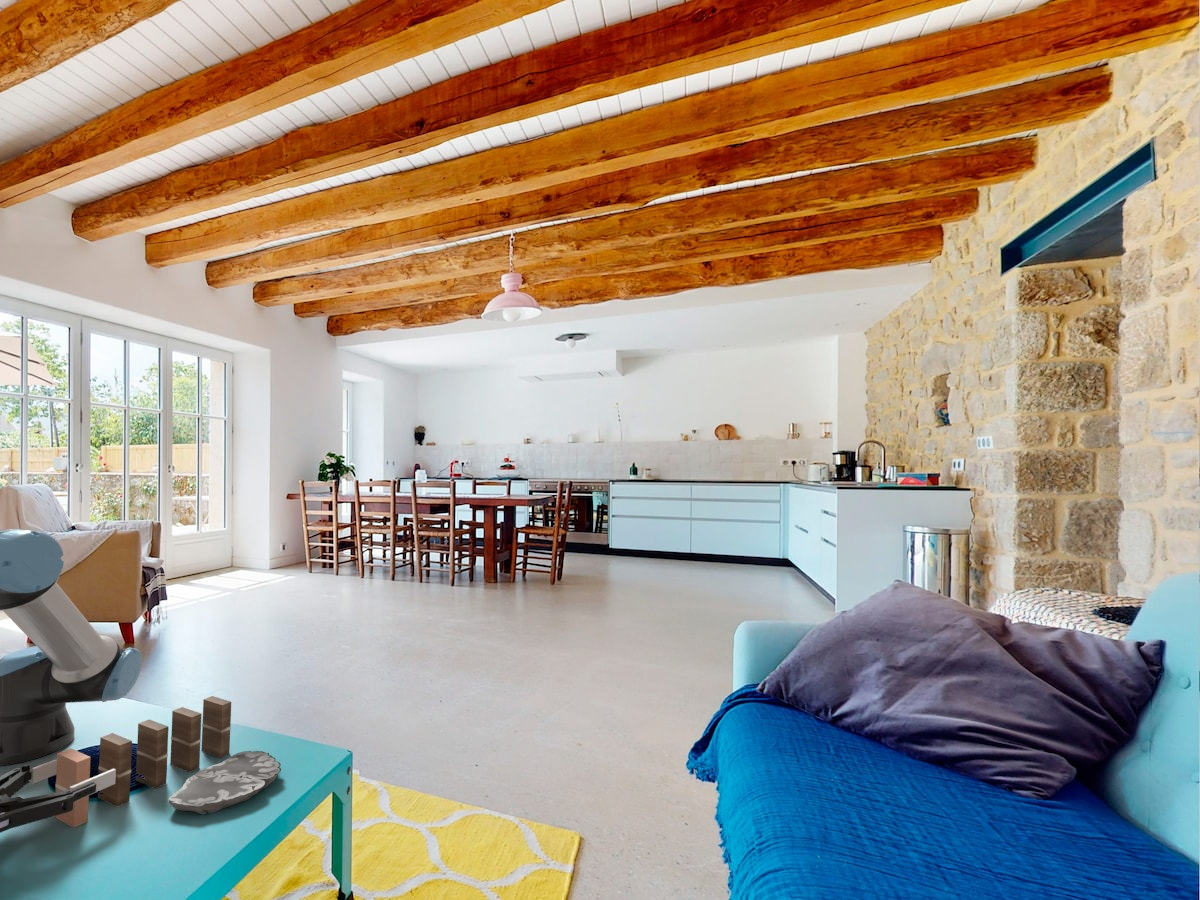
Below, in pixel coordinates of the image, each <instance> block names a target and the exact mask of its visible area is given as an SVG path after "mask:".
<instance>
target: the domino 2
mask: <svg viewBox="0 0 1200 900" xmlns="http://www.w3.org/2000/svg"><path fill="white" fill-rule="evenodd" d="M99 738H100V739H99V741H100V742H99V760H98V763H99V764H98V775H99V774H102V773H104V772H106V771H109V770H111V769H116V779H115V784H114V785H111V786H109V787H107V788H105V789H102V790H100V792H101V793H103V794H100V793H98V792H97V798H98V799H100V800H101V801H104V802H106V803H108V804H109V805H112V806H114V807H115V808H118V807H120V806H123V805H124V804H126V803H129V802H130V798H131V797H130V795H131V790H130V789H131V773H132V751H133V750H132V749H133V748H132V747H133V740H131V739H129V738H126V737H123V736H121V735H119V734H116V733H114V732H112V733H109V734H106V735H103V736H101V737H99Z"/></svg>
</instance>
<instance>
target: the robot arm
mask: <svg viewBox="0 0 1200 900" xmlns="http://www.w3.org/2000/svg"><path fill="white" fill-rule="evenodd" d="M63 557H64V552H63V548H62V546H61V545H60V543H59V542H58V540H57V539H56V538H54V537H53V536H51V535H50V534H48V533H46V532H43V531H39V530H30V529H29V530H28V529H24V528H23V529H21V528H11V529H0V611H1V612H3V613H4V614H5V615H6V616H8V618H10V620H11V621H12V622H13V623H14V624H15V625H16V627H18V628H19V629H20V630H21V631H22V632H23V633H24V635H26V637H28V638H29V639H30V641H31V642H32V643H33V644H34V645H35V646H30V647H26V648H23V649H20V650H19V649H18V650H16V651H14V652H13V651H12V652H11V653H9V654H7V655H4V656H3V657H1V658H0V766H7V765H15V764H20V763H23V762H27V761H28V762H29V761H31V760H35V759H38V758H41V757H45V756H47V755H49V754H53V753H55V752H56V751H59V750H61V749H62V748H65V747H66V746H68V745H70V743H71V742H72V741H73V740H74V739H75V725H74V723H73V721H72V718H71V716H70V714H69V712H68V709H67V706H66V705H67V703H68V704H71V703H73V704H74V703H91V702H92V703H93V702H102V703H106V702H110V701H119V700H120V699H122V698H124V697H125V696H127V695H128V694H129V693H130V691H132V689H133V687H135V684H136V683H137V681H138V680H139V679H138V678H139V676H140V673H141V671H142V670H141V669H142V666H143V665H142V664H143V656H142V652H141V651H140V650H139V649H138V648H135V647H127V648H124V647H120V645H119V644H118V643H117V642H116V640H115V639H114V638H112V637H110V636H107V635H100V634H99V633H98V632H97V631H96V630H95V628H94V627H93V626H92V624H91V623H90V622H89V620H88V619H86V617H85V616H84V615H83V613H82V612H81V611H80V610H79V609H78V607H77V606H76V604H75V603H73V601H72V600H71V599H70V597H69V596H68V595H67V594H66V593H65V591H64V590H63V588H62V587H61V586H60V585H59V584H58V583H57V582H59V578H60V575H61V573H62V571H63V568H64V563H65V560H64V559H62V558H63ZM56 774H57V758H54V759H53V760H50V761H48V762H45V763H42V764H39V765H37V766H35V767H31V764H24V765H22V766H21V767H16V768H12V769H11V770H9V771H8V772H6V773H4V774H3V775H1V776H0V833H3V832H6V831H8V830H11V829H13V828H19V827H21V826H24V825H28V824H31V823H35V822H39V821H42V820H45V819H48V818H52V817H55V816H56V815H60V814H63V813H67V812H70V811H72V810H73V803H74V802H75V801H77V800H80V799H82V798H84V797H87V796H89V797H90V796H91V795H93V794H95V793H98V791H100V790H102V789H105V788H107V787H109V786H111V785H114V784H115V779H116V769H111V770H109V771H106V772H104V773H102V774H99V773H98V775H94V776H93V777H90V779H87V780H85V781H83V782H80V783H78V784H76V785H73V786H71V787H70V788H69V790H67V791H62V792H56V791H55V792H51V793H45V794H40V795H36V796H30V797H25V798H23V797H21V796H16V797H13V796H14V795H15V794H16V793H18V792H19V791H20V790H21V789H23V788H24V787H25V786H26V785H28V784H29V783H31V784H36V783H38V782H41V781H43V780H45V779H48V778H51V777H54V776H56Z"/></svg>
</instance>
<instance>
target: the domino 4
mask: <svg viewBox="0 0 1200 900" xmlns="http://www.w3.org/2000/svg"><path fill="white" fill-rule="evenodd" d="M201 743H202V713H201V712H198V711H195V710H192V709H189V708H185V707H183V706H181V707H179V708H176V709H173V710H172V715H171V736H170V762H169V765H170V766H172V767H175V768H178V769H179V770H182V771H184V772H187V773H191V772H193V771H194V772H195V771H196V770H199V769H200V764H201V763H200V760H201V758H200V757H201Z"/></svg>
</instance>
